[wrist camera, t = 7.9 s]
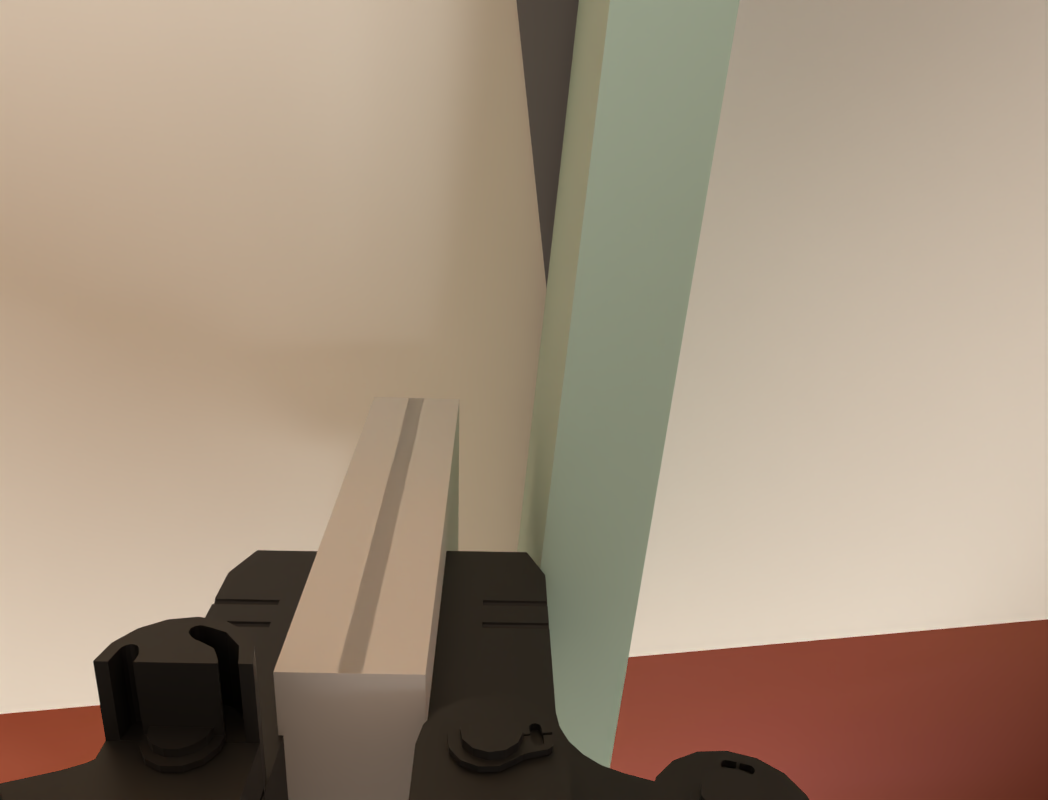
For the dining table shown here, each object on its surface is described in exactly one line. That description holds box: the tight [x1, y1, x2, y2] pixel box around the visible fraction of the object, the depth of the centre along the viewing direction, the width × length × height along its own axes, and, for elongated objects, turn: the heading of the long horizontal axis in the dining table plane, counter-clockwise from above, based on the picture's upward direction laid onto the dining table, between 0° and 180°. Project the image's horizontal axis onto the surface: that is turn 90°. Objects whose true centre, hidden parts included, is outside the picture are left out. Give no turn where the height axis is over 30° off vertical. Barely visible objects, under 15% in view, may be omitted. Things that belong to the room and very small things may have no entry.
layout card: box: [0, 0, 1048, 714], centre depth 16 cm, size 19×30×1 cm, turn 96°
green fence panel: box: [517, 0, 740, 768], centre depth 13 cm, size 1×12×6 cm, turn 174°
